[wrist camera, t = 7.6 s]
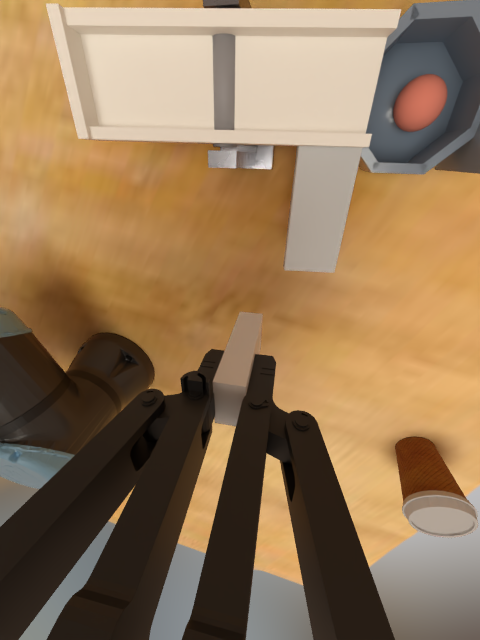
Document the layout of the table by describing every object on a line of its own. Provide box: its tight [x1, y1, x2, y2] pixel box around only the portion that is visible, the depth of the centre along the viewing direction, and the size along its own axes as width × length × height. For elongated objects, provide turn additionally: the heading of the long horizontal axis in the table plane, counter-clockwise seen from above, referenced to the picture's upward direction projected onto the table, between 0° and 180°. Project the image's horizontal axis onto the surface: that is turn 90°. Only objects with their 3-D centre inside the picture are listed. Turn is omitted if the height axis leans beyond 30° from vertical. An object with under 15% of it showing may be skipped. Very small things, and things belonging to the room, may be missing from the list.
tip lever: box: [46, 4, 401, 273], centre depth 22 cm, size 22×18×4 cm
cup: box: [359, 0, 480, 174], centre depth 19 cm, size 12×11×16 cm
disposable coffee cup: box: [395, 437, 478, 537], centre depth 44 cm, size 10×10×12 cm
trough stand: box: [203, 0, 274, 169], centre depth 24 cm, size 6×11×11 cm, turn 178°
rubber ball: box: [393, 74, 447, 132], centre depth 24 cm, size 4×4×4 cm
